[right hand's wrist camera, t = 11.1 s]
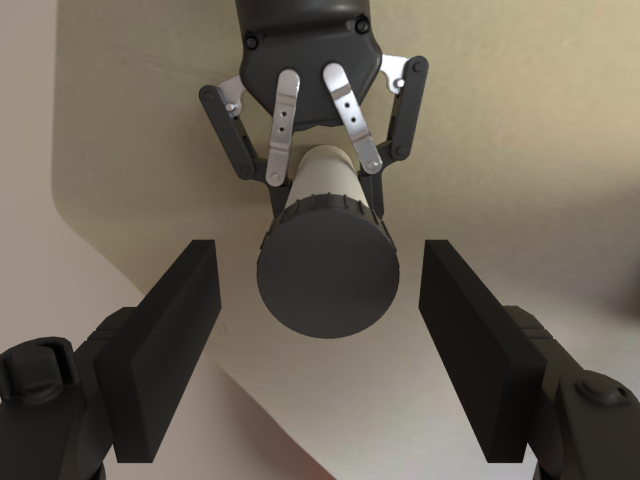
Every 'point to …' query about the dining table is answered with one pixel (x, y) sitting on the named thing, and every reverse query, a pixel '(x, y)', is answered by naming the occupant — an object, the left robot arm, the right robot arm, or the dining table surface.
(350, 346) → the dining table surface
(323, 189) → the bottle
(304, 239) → the lid
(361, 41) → the left robot arm
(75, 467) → the right robot arm
